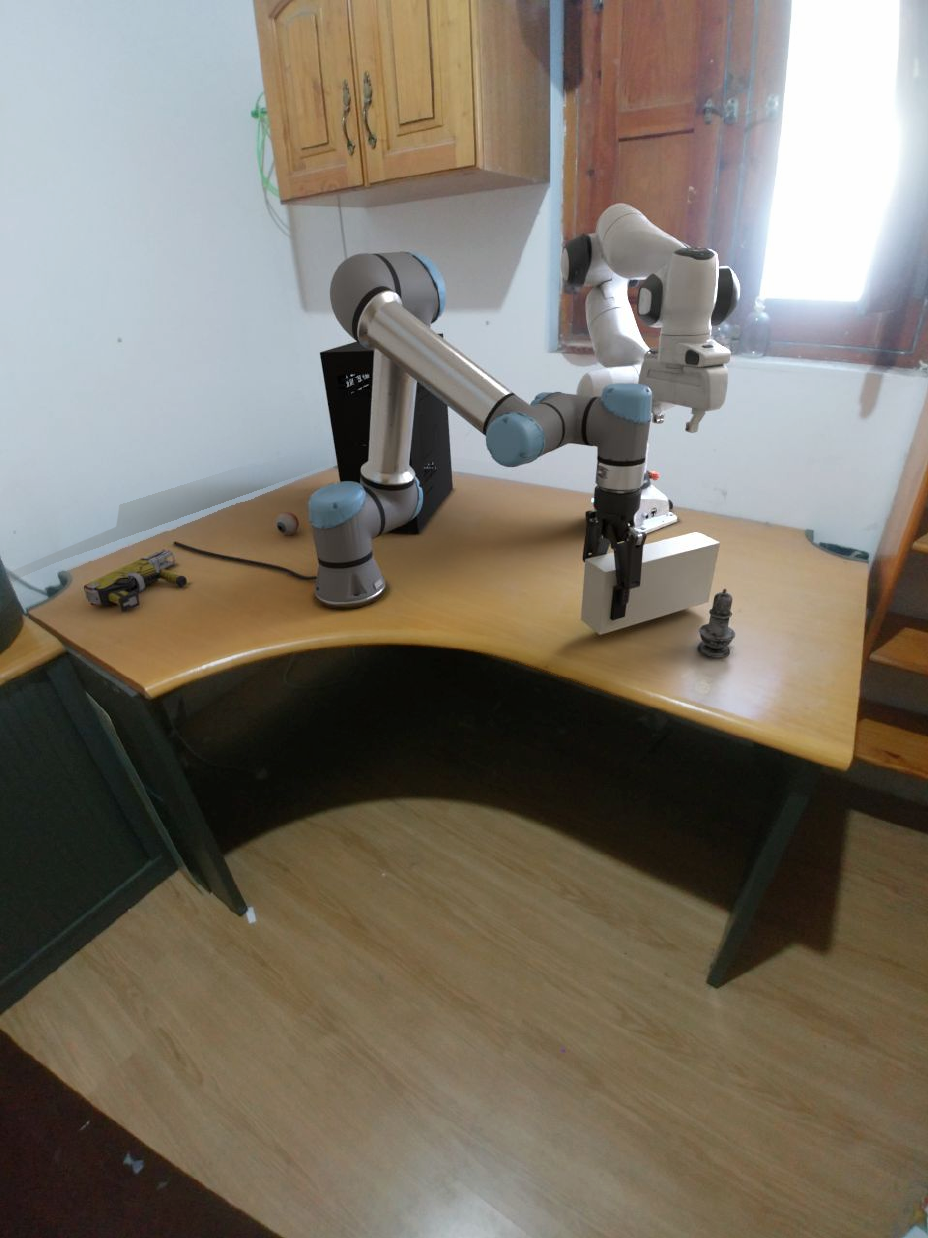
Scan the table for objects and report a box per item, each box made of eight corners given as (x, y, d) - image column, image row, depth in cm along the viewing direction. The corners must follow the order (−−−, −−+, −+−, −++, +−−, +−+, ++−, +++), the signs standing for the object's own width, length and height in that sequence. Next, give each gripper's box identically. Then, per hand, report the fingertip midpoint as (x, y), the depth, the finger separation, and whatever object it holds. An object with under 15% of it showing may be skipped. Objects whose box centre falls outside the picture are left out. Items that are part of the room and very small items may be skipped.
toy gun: (210, 557, 146) (160, 546, 150) (132, 599, 126) (77, 585, 130) (213, 575, 148) (164, 564, 152) (137, 618, 128) (82, 604, 132)
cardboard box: (418, 533, 160) (401, 349, 138) (347, 530, 165) (319, 352, 142) (452, 488, 192) (443, 333, 169) (392, 487, 196) (375, 335, 174)
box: (686, 589, 121) (696, 531, 115) (708, 602, 116) (720, 542, 110) (580, 620, 112) (585, 558, 106) (599, 635, 108) (605, 572, 101)
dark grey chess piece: (734, 659, 103) (747, 597, 97) (698, 657, 104) (708, 596, 98) (728, 641, 108) (740, 581, 102) (694, 639, 109) (704, 580, 103)
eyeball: (273, 537, 164) (268, 516, 161) (287, 528, 169) (282, 508, 166) (291, 539, 161) (286, 518, 158) (305, 530, 166) (301, 510, 163)
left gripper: (566, 474, 104) (560, 592, 116) (637, 508, 89) (621, 639, 101) (602, 467, 107) (592, 583, 118) (677, 499, 92) (657, 628, 104)
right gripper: (633, 347, 118) (627, 420, 125) (710, 357, 102) (698, 440, 109) (658, 344, 120) (651, 416, 127) (738, 353, 104) (725, 434, 111)
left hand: (606, 609), depth 110 cm, fingers closed on box, 6 cm apart
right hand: (673, 427), depth 118 cm, fingers open, 8 cm apart
